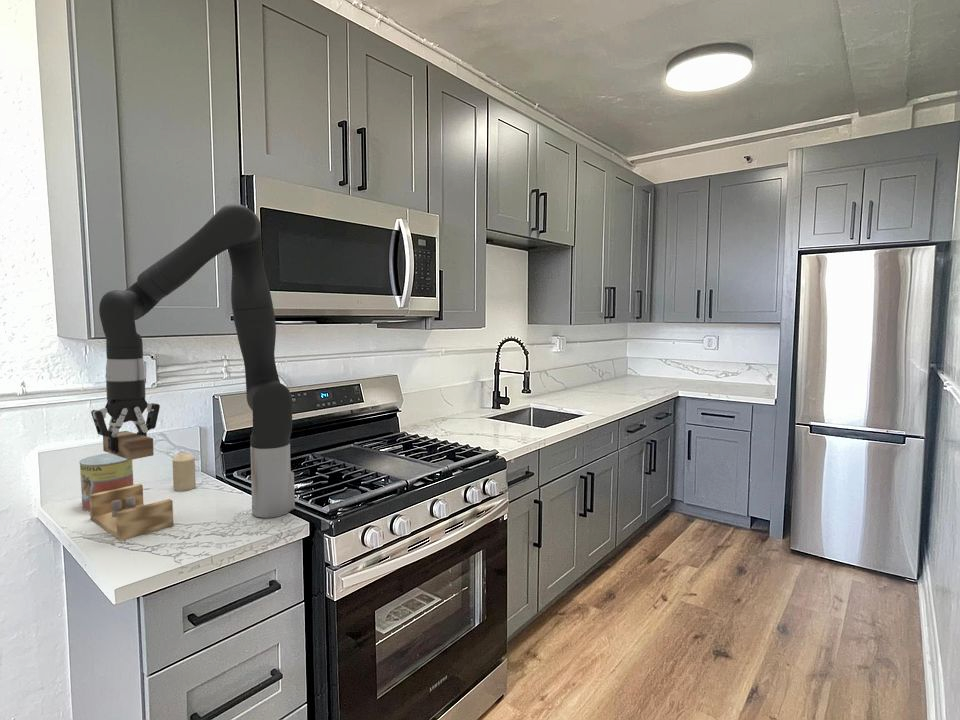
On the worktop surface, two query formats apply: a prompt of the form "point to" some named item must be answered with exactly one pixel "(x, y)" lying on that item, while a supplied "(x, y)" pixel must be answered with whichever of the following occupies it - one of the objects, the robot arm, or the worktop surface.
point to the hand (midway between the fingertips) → (128, 450)
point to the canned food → (104, 475)
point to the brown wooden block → (131, 445)
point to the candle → (184, 472)
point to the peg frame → (129, 512)
